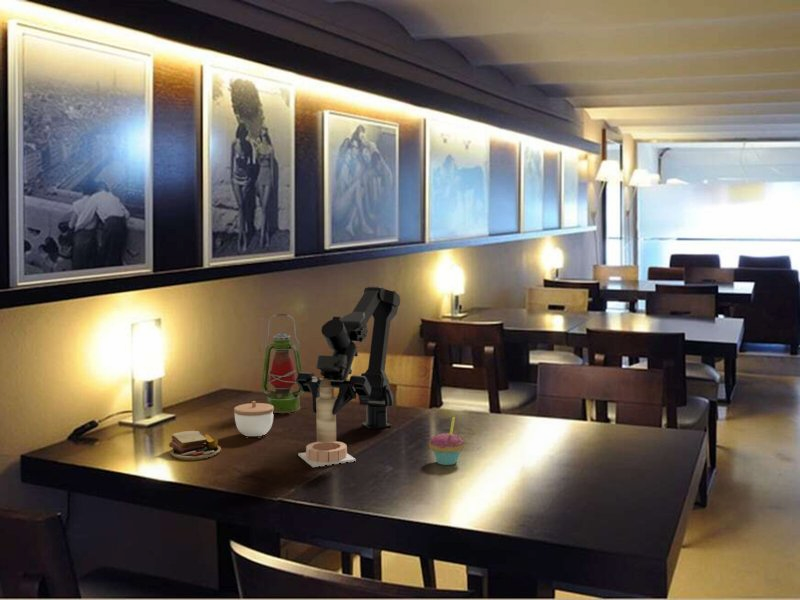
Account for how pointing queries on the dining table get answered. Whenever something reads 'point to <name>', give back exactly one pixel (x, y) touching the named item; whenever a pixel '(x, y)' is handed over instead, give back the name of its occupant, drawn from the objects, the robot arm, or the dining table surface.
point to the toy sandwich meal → (193, 446)
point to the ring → (326, 454)
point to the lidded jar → (254, 418)
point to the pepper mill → (325, 413)
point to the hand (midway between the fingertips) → (323, 413)
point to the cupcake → (446, 446)
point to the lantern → (282, 372)
